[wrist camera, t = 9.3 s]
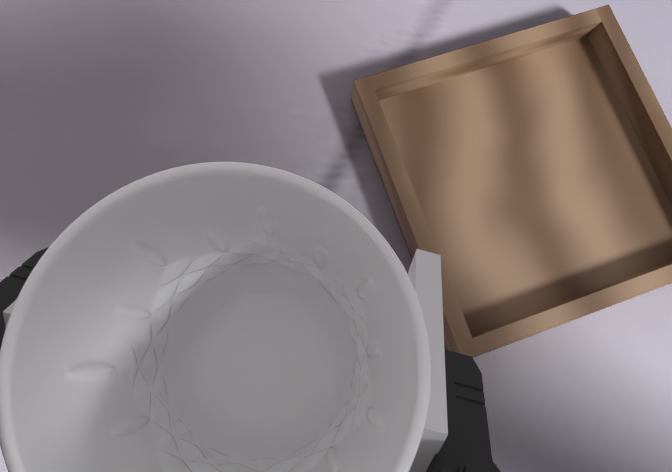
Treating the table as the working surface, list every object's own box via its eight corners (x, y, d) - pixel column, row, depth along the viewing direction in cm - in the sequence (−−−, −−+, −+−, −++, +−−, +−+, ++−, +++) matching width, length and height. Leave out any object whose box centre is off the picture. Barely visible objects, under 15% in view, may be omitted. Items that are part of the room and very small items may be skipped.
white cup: (278, 213, 20) (243, 85, 10) (415, 363, 19) (519, 377, 9) (117, 350, 19) (-97, 350, 9) (256, 520, 18) (183, 726, 8)
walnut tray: (588, 27, 36) (608, 4, 34) (706, 264, 33) (737, 258, 30) (350, 99, 34) (353, 80, 32) (450, 359, 31) (462, 361, 28)
